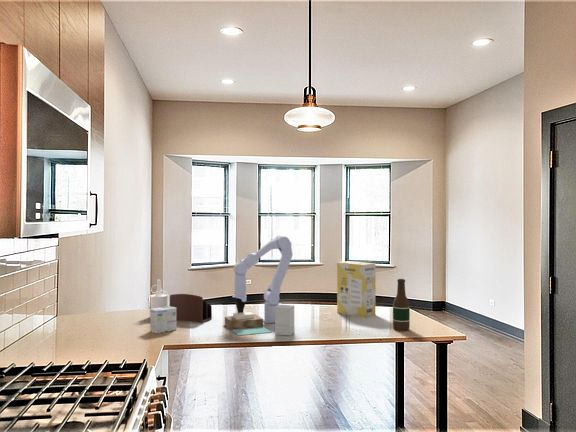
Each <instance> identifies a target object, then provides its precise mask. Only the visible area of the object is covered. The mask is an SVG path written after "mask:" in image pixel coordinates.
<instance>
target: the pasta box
mask: <svg viewBox="0 0 576 432" xmlns="http://www.w3.org/2000/svg"><path fill="white" fill-rule="evenodd" d="M336 262H337V264H336V268H337V269H336V271H337V273H336V277H337V278H336V282H337V283H336V287H337V288H336V289H337V290H336V291H337V292H336V298H337V299H336V301H337V302H336V307H337V309H336V312H337V314H342V315H349V316H351V317H352V316H353V317H359V318H363V319H364V318H368V317H372V316H376V263H373V262H365V261H364V262H363V261H354V260H353V261H352V260H347V261H336Z"/></svg>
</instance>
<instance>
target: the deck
mask: <svg viewBox="0 0 576 432" xmlns="http://www.w3.org/2000/svg"><path fill="white" fill-rule="evenodd" d="M253 314H254V318H251V319H239V320H236V319H235V318H234V317H233V315H228V316H227V315H226V316H224V326H225V327H227V328H228V329H229V330H231V331H232V330H235V329H246V328H257V327H264V321H263V319H264V317H263V318H262V317H261V316H259V315H258V314H256V313H253Z"/></svg>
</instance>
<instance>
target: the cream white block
mask: <svg viewBox="0 0 576 432" xmlns="http://www.w3.org/2000/svg"><path fill="white" fill-rule="evenodd" d="M254 314H255V313H253V312H251V311H246V312H244V311H243V313H238V312H235V313H234V312H233V314H232V316H233V317H234V318H235V319H236V320H239V319H251V318H254Z"/></svg>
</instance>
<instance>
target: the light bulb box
mask: <svg viewBox="0 0 576 432" xmlns="http://www.w3.org/2000/svg"><path fill="white" fill-rule="evenodd" d="M149 311H150V312H149V313H150V315H149V319H150V332H151V331H153V332H152V333H154V332H156V333H155V334H160V333H159V332H162V333H166V332H165V331H168V332H171V331H172V330H173V331H177V325H178V324H177V323H178V322H177V321H176V307H171V306H168V305H167V307H160V308H154V309H151V308H150V310H149Z"/></svg>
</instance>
